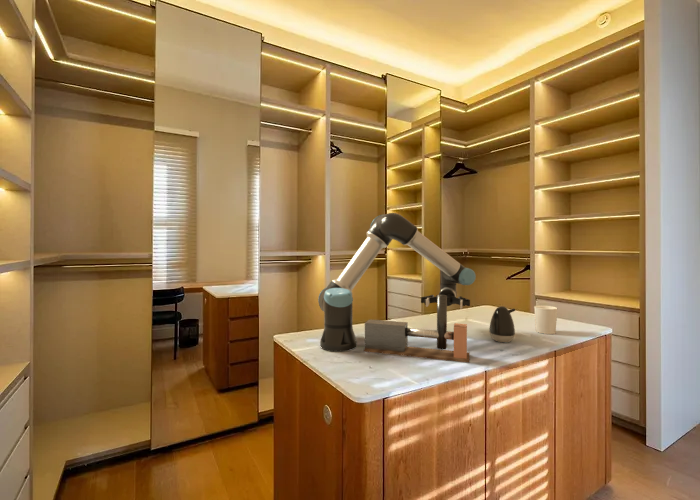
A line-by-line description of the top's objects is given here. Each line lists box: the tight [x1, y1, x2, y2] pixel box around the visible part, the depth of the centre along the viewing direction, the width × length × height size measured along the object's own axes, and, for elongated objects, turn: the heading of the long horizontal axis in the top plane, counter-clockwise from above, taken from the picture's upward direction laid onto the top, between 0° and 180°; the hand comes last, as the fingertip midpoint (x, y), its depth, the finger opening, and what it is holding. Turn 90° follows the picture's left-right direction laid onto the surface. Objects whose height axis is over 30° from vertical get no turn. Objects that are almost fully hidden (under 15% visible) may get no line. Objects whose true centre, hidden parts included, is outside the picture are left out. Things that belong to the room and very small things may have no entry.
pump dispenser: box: [489, 305, 516, 343], centre depth 152 cm, size 10×10×15 cm
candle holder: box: [533, 305, 558, 335], centre depth 167 cm, size 10×10×12 cm
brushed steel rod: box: [405, 294, 454, 350], centre depth 133 cm, size 24×4×20 cm, turn 71°
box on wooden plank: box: [364, 319, 409, 352], centre depth 139 cm, size 16×6×10 cm, turn 71°
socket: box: [453, 322, 468, 359], centre depth 130 cm, size 4×7×11 cm, turn 161°
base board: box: [363, 346, 471, 364], centre depth 135 cm, size 40×9×1 cm, turn 71°
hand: (443, 304), depth 141 cm, fingers open, 13 cm apart
